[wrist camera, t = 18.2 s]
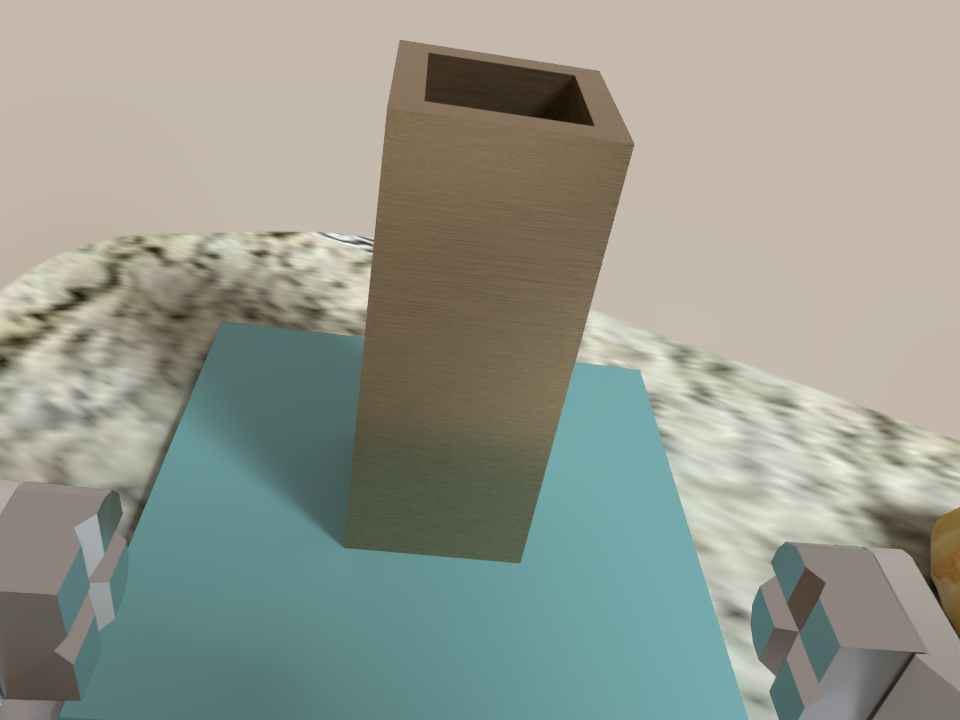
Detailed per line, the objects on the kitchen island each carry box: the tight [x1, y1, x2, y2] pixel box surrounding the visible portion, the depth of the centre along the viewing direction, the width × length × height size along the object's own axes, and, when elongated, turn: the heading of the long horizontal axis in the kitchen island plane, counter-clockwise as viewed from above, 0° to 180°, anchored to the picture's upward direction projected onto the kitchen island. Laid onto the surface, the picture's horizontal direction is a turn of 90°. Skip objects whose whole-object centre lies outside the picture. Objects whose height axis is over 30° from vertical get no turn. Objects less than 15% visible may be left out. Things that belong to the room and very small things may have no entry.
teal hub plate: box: [58, 321, 748, 720], centre depth 28 cm, size 18×18×5 cm
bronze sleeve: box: [344, 40, 634, 564], centre depth 25 cm, size 6×6×14 cm
